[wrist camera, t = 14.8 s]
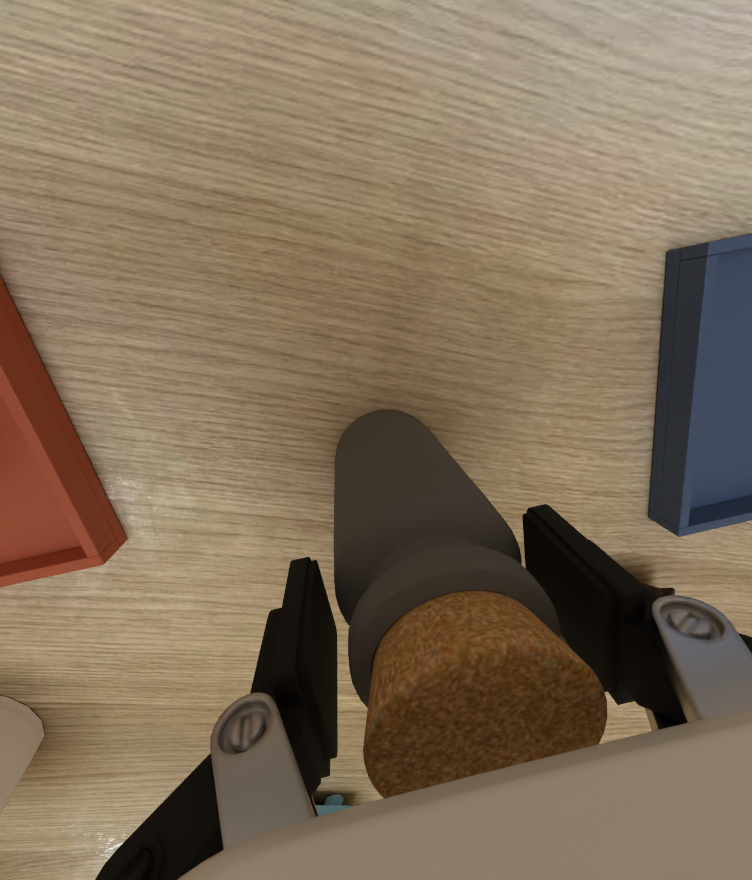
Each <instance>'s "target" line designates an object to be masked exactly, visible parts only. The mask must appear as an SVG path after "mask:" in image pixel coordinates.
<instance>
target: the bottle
mask: <svg viewBox="0 0 752 880" xmlns="http://www.w3.org/2000/svg"><path fill="white" fill-rule="evenodd" d="M334 583H335V593H336V599H337V602H338V606H339V609H340V611H341V613H342V615H343V617H344V618H345V620H346V622H347V623H348V625H349V626H350V627H349V636H348V656H349V667H350V674H351V678H352V683H353V685H354V687H355V690H356V692H357V694H358V695H359V697H360V699H361V701H362V702H363V703H364V704H365V705H366V707H367V708H368V712H367V720H366V729H365V738H364V747H363V754H364V762H365V766H366V770H367V773H368V776H369V778H370V780H371V782H372V784H373V786H374V788H375V789H376V790H377V791H378V792H379V794H380V795H381V796H382V797H383V798H388V797H392V796H396V795H400V794H403V793H407V792H411V791H415V790H419V789H423V788H427V787H431V786H435V785H439V784H442V783H446V782H450V781H454V780H458V779H462V778H466V777H470V776H474V775H478V774H482V773H486V772H490V771H494V770H498V769H502V768H506V767H510V766H514V765H518V764H522V763H526V762H530V761H534V760H538V759H542V758H546V757H550V756H554V755H558V754H562V753H566V752H570V751H574V750H578V749H582V748H586V747H590V746H594V745H598V744H599V742H600V740H601V738H602V735H603V733H604V730H605V725H606V720H607V700H606V696H605V693H604V690H603V687H602V685H601V683H600V681H599V679H598V677H597V676H596V674H595V673H594V671H593V670H592V669H591V668H590V667H589V666H588V665H587V664H586V663H585V662H584V661H583V660H582V659H581V658H580V657H579V656H578V655H577V654H576V653H575V652H573V651H572V650H571V649H570V648H569V647H568V646H567V645H566V644H565V643H564V642H563V641H562V640H561V639H560V625H559V619H558V616H557V613H556V611H555V608H554V606H553V604H552V602H551V601H550V599H549V597H548V596H547V594H546V593H545V591H544V590H543V588H542V587H541V586H540V585H539V583H538V582H537V581H536V579H535V578H534V577H533V576H532V575H531V573H530V572H528V571H527V570H526V569H525V568H524V567H523V566H522V565H521V554H520V548H519V546H518V543H517V540H516V538H515V536H514V534H513V532H512V530H511V529H510V527H509V526H508V524H507V523H506V521H505V520H504V519H503V518H502V516H501V515H500V514H499V513H498V511H497V510H496V509H495V508H494V506H493V505H492V504H491V503H490V501H489V500H488V499H487V498H486V496H485V495H484V494H483V493H482V492H481V491H480V489H479V488H478V487H477V486H476V485H475V483H474V482H473V481H472V480H471V479H470V478H469V476H468V475H467V474H466V473H465V472H464V471H463V469H462V468H461V467H460V466H459V465H458V463H457V462H456V461H455V460H454V459H453V458H452V456H451V455H450V454H449V453H448V452H447V451H446V449H445V448H444V447H443V446H442V445H441V443H440V442H439V441H438V440H437V439H436V438H435V436H434V435H433V434H432V433H431V432H430V431H429V430H428V429H427V428H426V427H425V426H424V425H423V424H422V423H421V422H420V421H419V420H417V419H416V418H414V417H413V416H411V415H409V414H406V413H404V412H400V411H396V410H381V411H376V412H372V413H369V414H367V415H365V416H362V417H360V418H359V419H358V420H356V421H355V422H354V423H352V424H351V425H350V426H349V427H348V428H347V430H346V431H345V432H344V434H343V435H342V437H341V439H340V441H339V444H338V446H337V450H336V457H335V489H334Z"/></svg>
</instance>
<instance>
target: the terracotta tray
mask: <svg viewBox="0 0 752 880" xmlns="http://www.w3.org/2000/svg"><path fill="white" fill-rule="evenodd" d="M126 540H127V538H126V536H125V534H124V532H123V529H122V527H121V525H120V523H119V521H118V519H117V517H116V515H115V513H114V511H113V509H112V507H111V505H110V502H109V500H108V498H107V496H106V494H105V492H104V490H103V488H102V486H101V484H100V482H99V480H98V478H97V476H96V473H95V471H94V469H93V467H92V465H91V463H90V461H89V459H88V457H87V455H86V453H85V451H84V449H83V446H82V444H81V442H80V440H79V438H78V436H77V434H76V432H75V430H74V428H73V426H72V424H71V422H70V420H69V417H68V415H67V413H66V411H65V409H64V407H63V405H62V403H61V401H60V399H59V397H58V395H57V393H56V391H55V388H54V386H53V384H52V382H51V380H50V378H49V376H48V374H47V372H46V370H45V368H44V366H43V364H42V361H41V359H40V357H39V355H38V353H37V351H36V349H35V347H34V345H33V343H32V341H31V339H30V337H29V335H28V332H27V330H26V328H25V326H24V324H23V322H22V320H21V318H20V316H19V314H18V312H17V310H16V308H15V305H14V303H13V301H12V299H11V297H10V295H9V293H8V291H7V289H6V287H5V285H4V283H3V281H2V279H1V276H0V587H3V586H7V585H12V584H16V583H21V582H26V581H30V580H35V579H39V578H44V577H49V576H53V575H58V574H62V573H67V572H72V571H76V570H81V569H85V568H90V567H95V566H99V565H103V564H105V563H106V562H107V561H108V560H109V558H110V557H111V556H112V555H113V554H114V553H115V552H116V551H117V550H118V549H119V547H121V546H122V545H123V544H124V542H125V541H126Z"/></svg>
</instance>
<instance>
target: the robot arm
mask: <svg viewBox="0 0 752 880" xmlns="http://www.w3.org/2000/svg"><path fill="white" fill-rule="evenodd" d="M523 532H524V549H525V565H526V570H527V571H528V572H530V573H531V575H532V576H533V577H534V578H535V579H536V581H537V582H538V583H539V585H540V586H541V587H542V588H543V590H544V591H545V593H546V594H547V596H548V597H549V599H550V601H551V602H552V604H553V606H554V608H555V611H556V613H557V616H558V619H559V625H560V634H561V636H562V637H563V638H564V640H565V641H566V643H567V644H568V645H569V647H570V648H571V650H572V651H573V652H575V653H576V654H577V655H578V656H579V657H580V658H581V659H582V660H583V661H584V662H585V663H586V664H587V665H588V666H589V667H590V668H591V669H592V670H593V671H594V673H595V674H596V676H597V677H598V679H599V681H600V683H601V685H602V687H603V690H604V692H606V691H608V692H609V694H610V695H611V696H612V698H613V699H614V700H615V702H616V703H617V705H620V704H624V703H628V702H632V701H636V703H637V704H638V705H640V706H642V707H644V708H645V710H646V714H647V717H648V720H649V723H650V726H651V729H652V732H648V733H644V734H639V735H635V736H631V737H627V738H623V739H619V740H615V741H611V742H607V743H602V744H598V745H594V746H590V747H586V748H582V749H578V750H574V751H570V752H566V753H562V754H558V755H554V756H550V757H546V758H542V759H538V760H534V761H530V762H526V763H522V764H518V765H514V766H510V767H506V768H502V769H498V770H494V771H490V772H486V773H482V774H478V775H474V776H470V777H466V778H462V779H458V780H454V781H450V782H446V783H442V784H439V785H435V786H431V787H427V788H423V789H419V790H415V791H411V792H407V793H403V794H400V795H396V796H392V797H388V798H384V799H380V800H376V801H372V802H368V803H365V804H361V805H357V806H353V807H350V808H346V809H342V810H339V811H335V812H332V813H328V814H324V815H321V816H319V814H318V812H317V809H316V806H315V803H314V800H313V797H312V795H313V793H314V792H315V790H316V789H317V788H318V786H319V785H320V783H321V778H323V777H327V776H330V759H332V758H336V757H337V631H336V625H335V622H334V618H333V615H332V611H331V608H330V604H329V601H328V597H327V594H326V590H325V587H324V583H323V580H322V576H321V573H320V569H319V566H318V563H317V560H314V561H311V559H310V557H305V558H301V559H296V560H292V561H291V563H290V568H289V573H288V578H287V583H286V589H285V594H284V599H283V605H282V608H279V609H274V610H271V611H270V612H269V615H268V619H267V623H266V627H265V632H264V636H263V640H262V645H261V649H260V653H259V658H258V662H257V666H256V671H255V675H254V679H253V684H252V688H251V692H250V694H247V695H245V696H243V697H241V698H239V699H238V700H236V701H235V702H234V703H232V704H231V705H230V706H229V707H228V708H227V709H226V710H225V711H224V712H223V713H222V714H221V716H220V717H219V719H218V721H217V722H216V724H215V726H214V729H213V732H212V735H211V741H210V750H211V753H210V754H209V755H208V756H207V757H206V758H205V759H204V761H203V762H202V763H201V764H200V765H199V766H198V767H197V768H196V769H195V770H194V771H193V772H192V773H191V774H190V775H189V776H188V777H187V778H186V779H185V780H184V781H183V782H182V783H181V784H180V785H179V786H178V787H177V788H176V789H175V790H174V791H173V792H172V794H171V795H170V796H169V797H168V798H167V799H166V800H165V801H164V802H163V803H162V804H161V805H160V806H159V807H158V808H157V809H156V810H155V811H154V812H153V813H152V814H151V815H150V816H149V817H148V818H147V819H146V820H145V821H144V822H143V823H142V824H141V825H140V827H139V828H138V829H137V830H136V831H135V832H134V833H133V834H132V835H131V836H130V837H129V838H128V839H127V840H126V841H125V842H124V843H123V844H122V845H121V846H120V847H119V848H118V849H117V850H116V852H115V853H114V854H113V855H112V856H111V858H110V859H109V860H108V861H107V862H106V863H105V865H104V866H103V868H102V869H101V871H100V873H99V874H98V876H97V877H96V879H95V880H752V637H749V636H746V635H742V634H739V633H738V632H737V631H736V629H735V628H734V626H733V625H732V623H731V622H730V621H729V620H728V619H727V617H726V616H725V615H724V614H722V613H721V612H720V611H718V610H717V609H716V608H714V607H712V606H710V605H708V604H706V603H704V602H702V601H699V600H696V599H693V598H690V597H685V596H678V595H673V596H664V597H661V598H657V597H656V596H655V595H654V594H652V593H651V592H650V591H649V590H648V589H647V588H645V587H644V586H643V585H642V584H641V583H640V582H639V581H637V580H636V579H635V578H634V577H633V576H632V575H630V574H629V573H628V572H627V571H626V570H625V569H623V568H622V567H621V566H620V565H619V564H618V563H617V562H615V561H614V560H613V559H612V558H611V557H610V556H608V555H607V554H606V553H605V552H604V551H603V550H601V549H600V548H599V547H598V546H597V545H596V544H595V543H593V542H592V541H590V540H588V539H586V538H585V537H584V536H583V535H582V534H581V533H579V532H578V531H577V530H576V529H575V528H574V527H573V526H571V525H570V524H569V523H568V522H567V521H566V520H565V519H563V518H562V517H561V516H560V515H559V514H558V513H557V512H555V511H554V510H553V509H552V508H551V507H550V506H548V505H546V504H544V505H540V506H535V507H531V508H528V510H527V513H525V514H523Z"/></svg>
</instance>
